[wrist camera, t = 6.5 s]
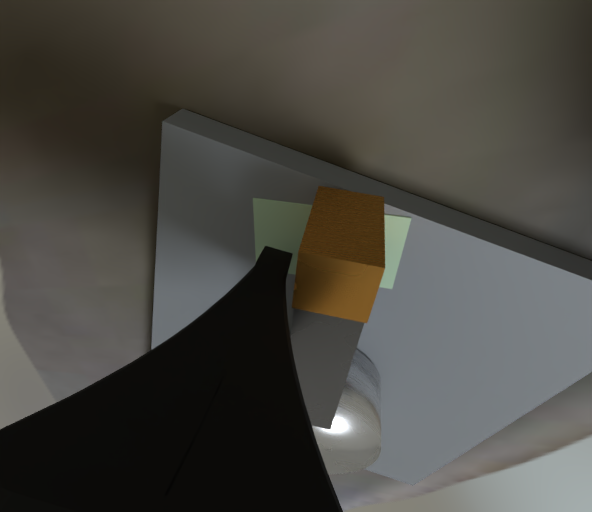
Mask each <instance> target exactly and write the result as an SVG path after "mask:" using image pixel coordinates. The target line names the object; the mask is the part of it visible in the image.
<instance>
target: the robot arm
mask: <svg viewBox="0 0 592 512" xmlns="http://www.w3.org/2000/svg"><path fill="white" fill-rule="evenodd" d="M292 255H293V253H290V252H286V251H283V250H279V249H276V248H272V247H268V246H265V247H264V249H263V250H262V252H261V254H260V255H259V257H258V259H257V261H256V264H255V266H254V267H253V268H252V269H251V270H250V271H249V272H248V273H247V274H246V275H245V276H244V277H243V278H242V279H241V280H240V281H239V282H238V283H237V284H236V285H235V286H234V287H233V288H232V289H231V290H230V291H229V292H228V293H226V294H225V295H224V296H223V297H222V298H221V299H219V300H218V301H217V302H216V303H215V304H214V305H212V306H211V307H210V308H209V309H208V310H206V311H205V312H204V313H203V314H202V315H200V316H199V317H198V318H196V319H195V320H194V321H193V322H191V323H190V324H189V325H187V326H186V327H185V328H183V329H182V330H180V331H179V332H178V333H176V334H175V335H173V336H172V337H170V338H169V339H167V340H166V341H164V342H163V343H161V344H160V345H158V346H157V347H155V348H154V349H152V350H151V351H149V352H147V353H146V354H144V355H143V356H141V357H139V358H138V359H136V360H135V361H133V362H131V363H130V364H128V365H126V366H124V367H123V368H121V369H119V370H117V371H115V372H114V373H112V374H110V375H108V376H106V377H105V378H103V379H101V380H99V381H97V382H95V383H94V384H92V385H90V386H88V387H86V388H85V389H83V390H81V391H79V392H77V393H75V394H73V395H71V396H69V397H67V398H65V399H63V400H61V401H59V402H57V403H55V404H53V405H50V406H48V407H46V408H44V409H42V410H40V411H38V412H36V413H34V414H32V415H30V416H27V417H25V418H23V419H21V420H19V421H17V422H15V423H13V424H11V425H9V426H6V427H4V428H2V429H1V430H0V512H343V511H342V508H341V506H340V503H339V501H338V498H337V496H336V493H335V491H334V488H333V485H332V483H331V480H330V478H329V475H328V472H327V469H326V467H325V464H324V461H323V458H322V455H321V453H320V450H319V447H318V444H317V441H316V438H315V434H314V431H313V428H312V425H311V421H310V418H309V415H308V412H307V408H306V405H305V402H304V398H303V394H302V390H301V387H300V383H299V379H298V374H297V370H296V365H295V361H294V356H293V350H292V344H291V338H290V331H289V324H288V315H287V301H286V278H287V274H288V270H289V267H290V263H291V259H292Z"/></svg>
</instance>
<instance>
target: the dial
mask: <svg viewBox="0 0 592 512" xmlns="http://www.w3.org/2000/svg"><path fill="white" fill-rule="evenodd" d="M384 270H385V218H384V197H382V196H376V195H370V194H364V193H358V192H352V191H347V190H341V189H335V188H329V187H323V186H318V190H317V193H316V196H315V199H314V202H313V206H312V209H311V212H310V215H309V219H308V222H307V225H306V228H305V231H304V235H303V238H302V241H301V244H300V248H299V251H298V258H297V266H296V275H295V283H294V291H293V300H292V308H294V312H293V320H292V328H291V333H290V338H291V344H292V350H293V356H294V361H295V365H296V370H297V374H298V379H299V383H300V387H301V390H302V394H303V398H304V402H305V405H306V408H307V412H308V415H309V418H310V421H311V425H312V428H313V431H314V434H315V438H316V441H317V444H318V447H319V450H320V453H321V455H322V458H323V461H324V464H325V467H326V469H327V472H328V474H345V473H351V472H356V471H359V470H362V469H365V468H367V467H369V466H370V465H372V464H373V463H374V462H375V461H376V460H377V459H378V458H379V455H380V453H381V379H380V375H379V373H378V371H377V369H376V367H375V366H374V365H373V363H372V362H371V361H370V360H369V359H368V358H367V357H366V356H365V355H364V354H362V353H361V352H359V351H358V350H357V349H356V348H357V345H358V342H359V338H360V335H361V332H362V329H363V326H364V323H367V322H368V319H369V316H370V313H371V310H372V307H373V304H374V301H375V298H376V295H377V292H378V289H379V286H380V283H381V280H382V276H383V273H384Z"/></svg>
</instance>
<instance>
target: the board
mask: <svg viewBox="0 0 592 512" xmlns="http://www.w3.org/2000/svg"><path fill="white" fill-rule="evenodd" d="M318 186H323V187H329V188H335V189H341V190H347V191H352V192H358V193H364V194H370V195H376V196H382V197H384V218H385V270H384V273H383V276H382V280H381V283H380V286H379V289H378V292H377V295H376V298H375V301H374V304H373V307H372V310H371V313H370V316H369V319H368V322H367V323H364V326H363V329H362V332H361V335H360V338H359V342H358V345H357V348H356V349H357V350H358V351H359V352H361V353H362V354H364V355H365V356H366V357H367V358H368V359H369V360H370V361H371V362H372V363H373V365H374V366H375V367H376V369H377V371H378V373H379V375H380V379H381V453H380V455H379V458H378V459H377V460H376V461H375V462H374V463H373V464H372V465H370V466H369V467H367V468H365V469H366V470H369V471H372V472H375V473H377V474H380V475H383V476H386V477H389V478H392V479H395V480H398V481H401V482H404V483H407V484H410V485H415V484H416V483H418V482H419V481H421V480H423V479H424V478H426V477H427V476H429V475H430V474H432V473H434V472H435V471H437V470H438V469H440V468H441V467H443V466H445V465H446V464H448V463H449V462H451V461H452V460H454V459H456V458H457V457H459V456H460V455H462V454H463V453H465V452H467V451H468V450H470V449H471V448H473V447H474V446H476V445H478V444H479V443H481V442H482V441H484V440H485V439H487V438H489V437H490V436H492V435H493V434H495V433H496V432H498V431H500V430H501V429H503V428H504V427H506V426H507V425H509V424H511V423H512V422H514V421H515V420H517V419H518V418H520V417H522V416H523V415H525V414H526V413H528V412H529V411H531V410H533V409H534V408H536V407H537V406H539V405H540V404H542V403H544V402H545V401H547V400H548V399H550V398H551V397H553V396H554V395H556V394H558V393H559V392H561V391H562V390H564V389H565V388H567V387H569V386H570V385H572V384H573V383H575V382H576V381H578V380H580V379H581V378H583V377H584V376H586V375H587V374H589V373H591V372H592V261H590V260H588V259H585V258H582V257H580V256H577V255H574V254H572V253H569V252H566V251H564V250H561V249H558V248H556V247H553V246H550V245H547V244H545V243H542V242H539V241H537V240H534V239H531V238H529V237H526V236H523V235H521V234H518V233H515V232H513V231H510V230H507V229H505V228H502V227H499V226H497V225H494V224H491V223H488V222H486V221H483V220H480V219H478V218H475V217H472V216H470V215H467V214H464V213H462V212H459V211H456V210H454V209H451V208H448V207H446V206H443V205H440V204H438V203H435V202H432V201H429V200H427V199H424V198H421V197H419V196H416V195H413V194H411V193H408V192H405V191H403V190H400V189H397V188H395V187H392V186H389V185H387V184H384V183H381V182H378V181H376V180H373V179H370V178H368V177H365V176H362V175H360V174H357V173H354V172H352V171H349V170H346V169H344V168H341V167H338V166H336V165H333V164H330V163H328V162H325V161H322V160H319V159H317V158H314V157H311V156H309V155H306V154H303V153H301V152H298V151H295V150H293V149H290V148H287V147H285V146H282V145H279V144H277V143H274V142H271V141H269V140H266V139H263V138H260V137H258V136H255V135H252V134H250V133H247V132H244V131H242V130H239V129H236V128H234V127H231V126H228V125H226V124H223V123H220V122H218V121H215V120H212V119H210V118H207V117H204V116H201V115H199V114H196V113H193V112H191V111H188V110H185V109H181V110H179V111H178V112H176V113H175V114H173V115H171V116H170V117H168V118H167V119H165V120H163V121H162V140H161V160H160V181H159V201H158V222H157V242H156V263H155V283H154V304H153V324H152V345H151V350H152V349H154V348H155V347H157V346H158V345H160V344H161V343H163V342H164V341H166V340H167V339H169V338H170V337H172V336H173V335H175V334H176V333H178V332H179V331H180V330H182V329H183V328H185V327H186V326H187V325H189V324H190V323H191V322H193V321H194V320H195V319H196V318H198V317H199V316H200V315H202V314H203V313H204V312H205V311H206V310H208V309H209V308H210V307H211V306H212V305H214V304H215V303H216V302H217V301H218V300H219V299H221V298H222V297H223V296H224V295H225V294H226V293H228V292H229V291H230V290H231V289H232V288H233V287H234V286H235V285H236V284H237V283H238V282H239V281H240V280H241V279H242V278H243V277H244V276H245V275H246V274H247V273H248V272H249V271H250V270H251V269H252V268H253V267H254V266H255V264H256V261H257V259H258V257H259V255H260V254H261V252H262V250H263V249H264V247H265V246H268V247H272V248H276V249H279V250H283V251H286V252H290V253H293V255H292V259H291V263H290V267H289V270H288V274H287V278H286V301H287V315H288V324H289V331H290V333H291V328H292V320H293V312H294V308H292V300H293V291H294V283H295V275H296V266H297V258H298V251H299V248H300V244H301V241H302V238H303V235H304V231H305V228H306V225H307V222H308V219H309V215H310V212H311V209H312V206H313V202H314V199H315V196H316V193H317V190H318Z"/></svg>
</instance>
